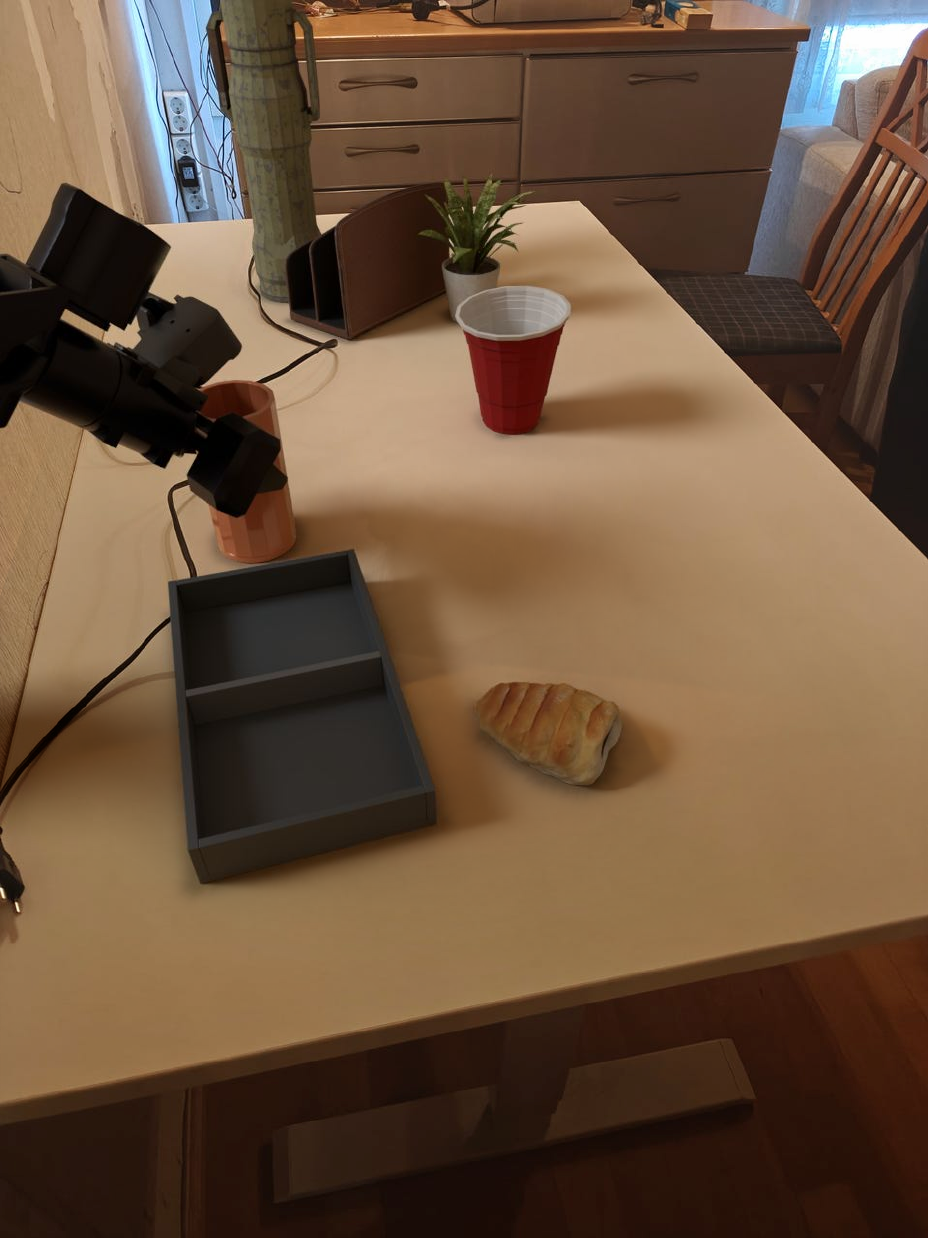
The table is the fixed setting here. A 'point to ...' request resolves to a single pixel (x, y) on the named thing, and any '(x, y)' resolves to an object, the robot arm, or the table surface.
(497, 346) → the plastic cup
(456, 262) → the house plant
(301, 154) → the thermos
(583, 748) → the pastry
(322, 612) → the tray
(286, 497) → the cup
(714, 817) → the table surface
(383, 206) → the letter holder
